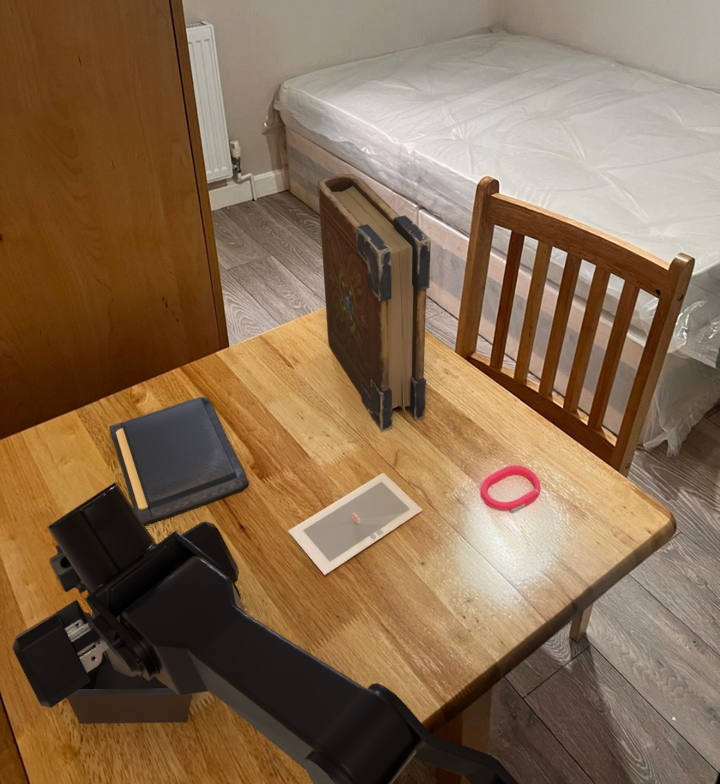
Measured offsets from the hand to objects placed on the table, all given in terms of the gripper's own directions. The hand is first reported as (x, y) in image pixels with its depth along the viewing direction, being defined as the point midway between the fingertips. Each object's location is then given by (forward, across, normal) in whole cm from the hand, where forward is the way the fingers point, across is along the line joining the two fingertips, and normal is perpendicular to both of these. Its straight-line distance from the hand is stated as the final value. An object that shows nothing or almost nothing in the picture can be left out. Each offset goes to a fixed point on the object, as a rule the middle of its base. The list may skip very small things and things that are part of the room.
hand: (118, 601), depth 71 cm
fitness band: (+1, -47, +16) cm, 49 cm away
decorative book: (+21, -48, -6) cm, 53 cm away
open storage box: (+7, 0, +8) cm, 11 cm away
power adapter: (+4, 0, +6) cm, 7 cm away
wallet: (+24, -17, -9) cm, 31 cm away
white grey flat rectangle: (+7, -28, +9) cm, 31 cm away
